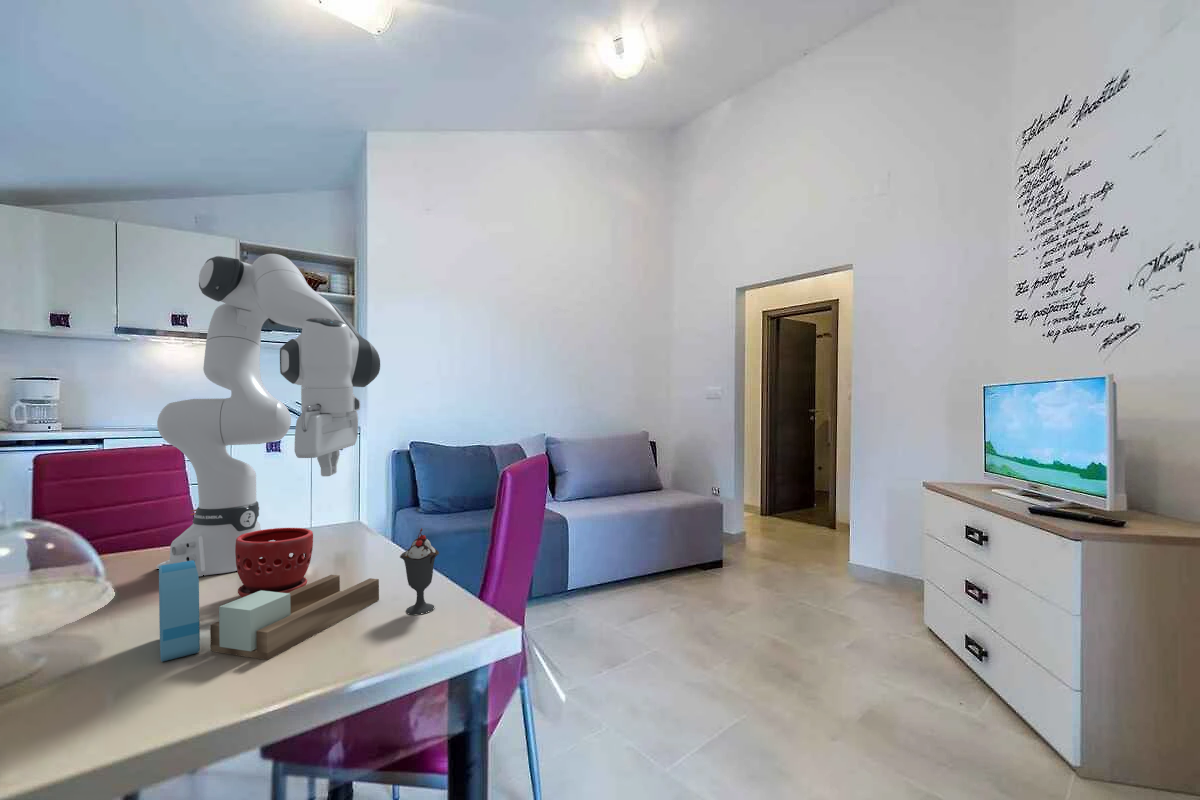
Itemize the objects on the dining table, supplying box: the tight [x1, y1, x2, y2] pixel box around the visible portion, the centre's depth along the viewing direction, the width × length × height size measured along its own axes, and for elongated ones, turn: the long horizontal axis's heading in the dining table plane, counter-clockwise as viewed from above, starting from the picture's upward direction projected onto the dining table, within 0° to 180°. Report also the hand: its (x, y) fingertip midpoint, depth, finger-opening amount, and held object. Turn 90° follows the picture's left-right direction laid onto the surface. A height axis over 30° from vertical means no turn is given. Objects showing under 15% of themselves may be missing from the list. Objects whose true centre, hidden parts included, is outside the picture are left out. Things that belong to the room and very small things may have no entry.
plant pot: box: [235, 527, 314, 598], centre depth 105 cm, size 13×13×12 cm
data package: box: [158, 560, 201, 663], centre depth 83 cm, size 12×4×12 cm, turn 40°
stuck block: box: [218, 590, 291, 651], centre depth 82 cm, size 6×7×6 cm
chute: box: [209, 574, 380, 661], centre depth 91 cm, size 11×24×4 cm, turn 164°
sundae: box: [399, 528, 440, 615], centre depth 96 cm, size 7×7×15 cm
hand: (328, 475), depth 102 cm, fingers closed
